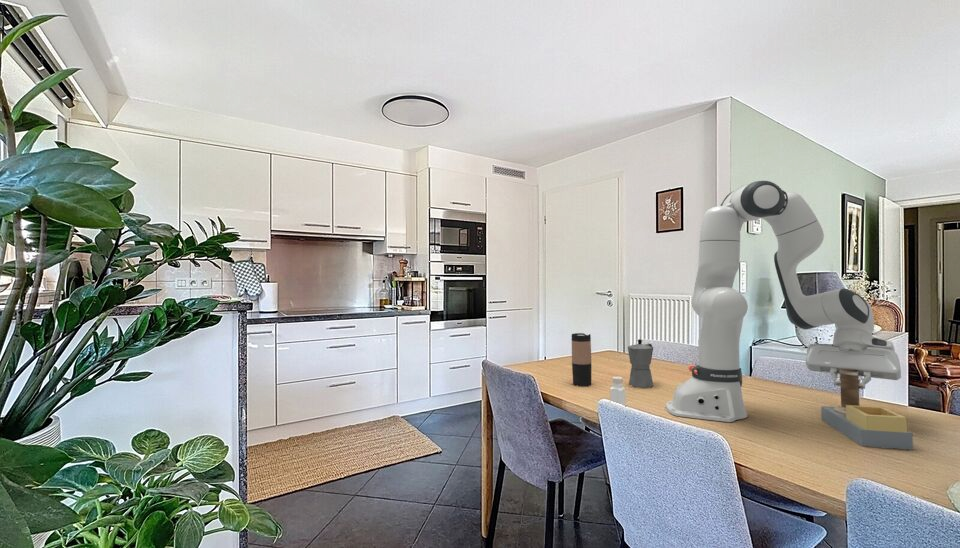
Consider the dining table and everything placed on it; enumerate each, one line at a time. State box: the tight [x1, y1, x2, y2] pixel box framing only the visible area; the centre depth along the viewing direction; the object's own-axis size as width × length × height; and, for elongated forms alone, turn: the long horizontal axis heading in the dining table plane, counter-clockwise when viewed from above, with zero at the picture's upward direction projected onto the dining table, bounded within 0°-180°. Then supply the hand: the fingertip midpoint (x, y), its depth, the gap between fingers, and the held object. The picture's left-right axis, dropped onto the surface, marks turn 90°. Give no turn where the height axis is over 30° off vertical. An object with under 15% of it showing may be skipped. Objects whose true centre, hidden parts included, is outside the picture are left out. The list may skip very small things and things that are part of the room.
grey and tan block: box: [820, 405, 914, 451], centre depth 112 cm, size 10×20×8 cm, turn 164°
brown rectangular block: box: [839, 369, 861, 408], centre depth 117 cm, size 4×4×10 cm
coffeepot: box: [627, 338, 654, 389], centre depth 168 cm, size 15×9×18 cm, turn 128°
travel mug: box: [571, 332, 592, 387], centre depth 170 cm, size 8×8×20 cm
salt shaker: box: [609, 376, 627, 407], centre depth 140 cm, size 4×4×10 cm
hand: (849, 386), depth 117 cm, fingers closed on brown rectangular block, 3 cm apart
